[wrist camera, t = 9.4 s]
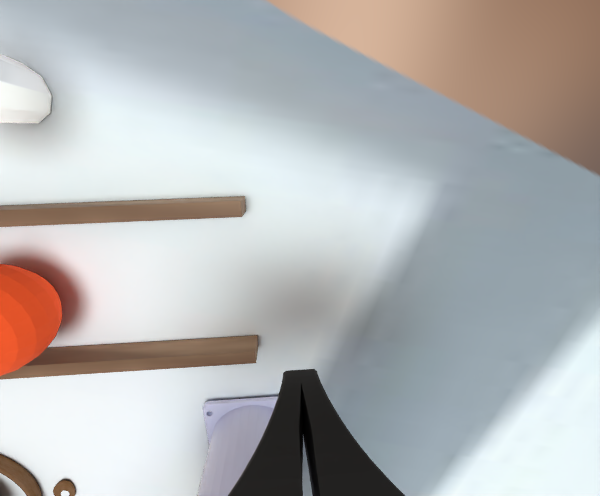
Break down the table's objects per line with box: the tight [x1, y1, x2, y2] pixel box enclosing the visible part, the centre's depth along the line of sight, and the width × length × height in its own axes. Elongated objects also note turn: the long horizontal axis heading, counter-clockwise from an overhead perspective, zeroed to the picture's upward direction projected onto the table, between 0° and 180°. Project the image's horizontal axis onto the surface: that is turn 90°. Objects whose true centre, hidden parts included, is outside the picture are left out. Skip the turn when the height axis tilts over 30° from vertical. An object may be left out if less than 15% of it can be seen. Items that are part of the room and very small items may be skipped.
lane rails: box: [0, 196, 258, 379], centre depth 20 cm, size 12×22×2 cm, turn 92°
